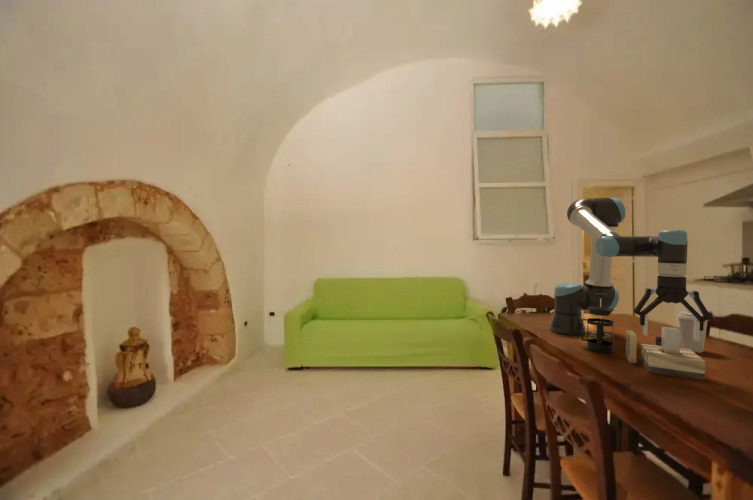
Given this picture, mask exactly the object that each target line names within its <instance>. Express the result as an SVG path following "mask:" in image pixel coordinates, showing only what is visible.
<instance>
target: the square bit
mask: <svg viewBox="0 0 753 500" xmlns="http://www.w3.org/2000/svg"><path fill="white" fill-rule="evenodd" d="M661 338H662V341H661V352H662V353H668V354H676V355H680V348H681V338H680V328H677V327H671V326H669V327H668V326H661Z"/></svg>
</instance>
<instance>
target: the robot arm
mask: <svg viewBox="0 0 753 500" xmlns="http://www.w3.org/2000/svg"><path fill="white" fill-rule="evenodd" d="M566 215H567V219H568V221H569V222H570V223H571V224H572V225H574V226H575V227H578V228H580V229H581V230H582V231H583V232H584V233H585V235H587V236H588V237H589V238H590V239H591V244H590V245H591V246H590V260H589V273H588V276H589V277H588V279H587V280H585V282H584V285H582V283H579V282H566V283H561V284H557V285H556V286H555V288H554V296H553V297H554V306H553V307H554V315H553V317H552V319H551V323H550V327H549V328H550V331H552V332H554V333H558V334H564V335H570V336H571V335H572V336H573V335H574V336H582V319H583V318H582V312H583V311H589V309H588V307H596V306H597V307H600V298H599V295H596V294H595V293H604V294H607V295H602V298H601V307H606V308H611V309H614V310H615V309H616V307H617V306H618V303H619V301H620V299H619V298H620V294H619V291H618V289H617V288H616V287H614V283H613V282H612V281H611V275H612V274H611V273H612V272H611V271H612V260H613V257H629V258H630V257H635V258H636V257H638V258H639V257H640V258H641V257H643V258H644V257H645V258H647V257H648V258H650V257H651V258H657V274H658V276H657V277H656V280H657V281H656V282H657V283H656V284H657V285H656V289H653V288H649V287H647V288H645V291H644V295H643V296H642V298H640V301H639V302H638V303H637V305H636V306H635V308H634V309H633V313H634V314H635V315H638V316H639V324H640V326H642V334H643V335H644V336H646V337H648V331H649V330H648V328H649V327H648V326H649V323H648V322H649V317H648V316H647V315H648V314H649V313H650V312H651V311H653V310H654V309H655V308H657V307H658V305H660V304H661V303H663V302H664V303H666V304H671V303H673V304H680V303H681V305H683V306H684V308H685V309H687V311H690V312H691V313H692V314H693V315H694V316H695V317H696V318H697V320H694V337H693V339H694V340H696V341H699V332H700V331H703V329H704V322H705V321H706V320H709V321H711V320H712V319H713V318H712V316H711V315H710V313H709V311H708V309H707V307H706V306H705V305H704V303H703V302H702V299H701V298H700V293H699V291H696V290H689V291H688V290H687V277H686V275H687V271H688V269H687V267H688V266H687V261H688V247H689V246H688V244H689V241H688V233H687V231H686V230H683V229H681V230H680V229H679V230H678V229H677V230H676V229H674V230H673V229H672V230H671V229H670V230H665V229H664V230H660V231H659V232H658V236H654V235H653V236H652V235H649V236H647V235H645V236H642V235H641V236H640V235H639V236H638V235H637V236H631V235H630V236H629V235H628V236H627V235H626V236H624V235H623V236H622V235H620V234H618V233H617V232H616V231H615V230H617V228H619V224H620V223H623V221H624V219H626V207H625V205H624V203H623V201H622V200H621V199H619V198H617V197H589V198H588V197H583V198H580V199H579V198H578V199H577V200H575V201H574V202H572V203H571V204H570V205H569V206H568V208H567V212H566ZM654 294H655V295H657V297H656V298H655V299H654V300H653V301H652V302H650V303H649V304H648V305H647V306H646V307H645V308H644V306H645V305H646V304H647V302H648V301H649V299H650V297H651V296H653V295H654ZM687 296H689V297H690V298H692V300H693V301H694V303H695V305H696V306H697V308H698V310H699V311H700V312H699V313H702V314H703V316H701V315H700V314H699V313H698V311H697V310H696V309H695V308H693V306H692V305H691V304H689V302H688V301H687V300H686V299H685V298H686V297H687ZM586 331H587V328H586V325H585V322H583V335H585V334H586Z"/></svg>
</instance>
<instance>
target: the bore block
mask: <svg viewBox="0 0 753 500" xmlns="http://www.w3.org/2000/svg"><path fill="white" fill-rule="evenodd" d="M639 356H640V361H641V363H642V364H643V366H644V367H645V369H646V371H648V373H652V374H658V375H659V374H660V375H666V376H672V377H680V378H687V379H694V380H700V381H706V360H705V359H703V358H702V357H700V356H699V355H698V354H697V352H693V351H692V350H691V349H683V348H681V347H680V355H676V354H668V353H662V352H661V346H656V344H647V343H646V344H645V343H640V355H639Z"/></svg>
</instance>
